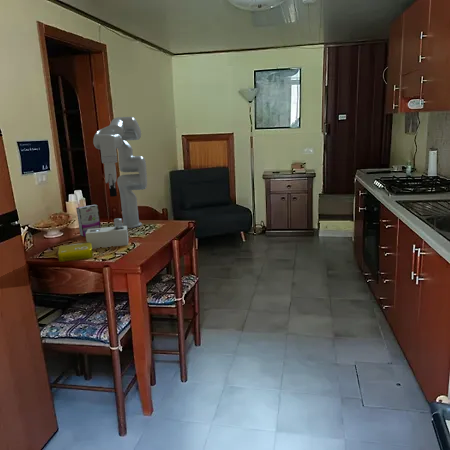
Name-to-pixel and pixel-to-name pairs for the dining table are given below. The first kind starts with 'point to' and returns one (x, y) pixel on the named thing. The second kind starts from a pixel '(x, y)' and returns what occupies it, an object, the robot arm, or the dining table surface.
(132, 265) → the dining table surface
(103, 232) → the pin block
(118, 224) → the pin inner
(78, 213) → the candy bar box
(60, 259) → the element tile
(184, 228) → the dining table surface
